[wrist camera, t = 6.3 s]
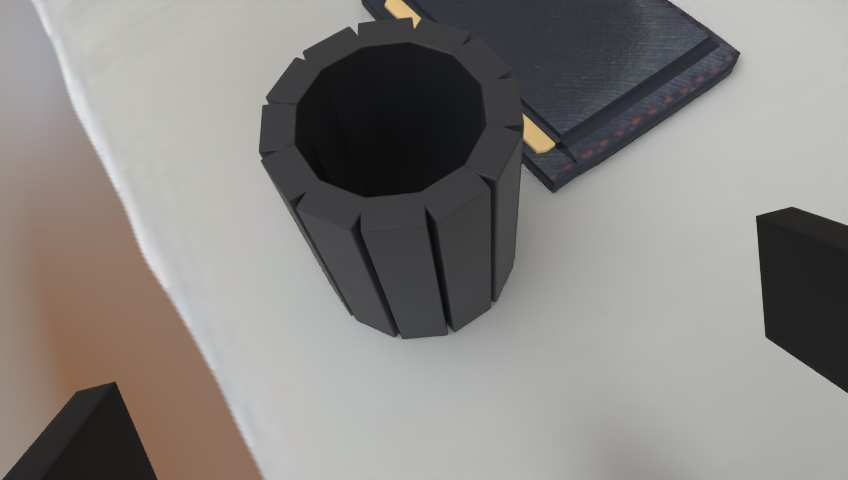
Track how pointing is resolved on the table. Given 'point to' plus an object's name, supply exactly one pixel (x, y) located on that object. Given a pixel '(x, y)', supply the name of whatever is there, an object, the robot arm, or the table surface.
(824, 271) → the robot arm
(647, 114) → the wallet
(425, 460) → the table surface
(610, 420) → the table surface
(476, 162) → the ribbed pencil cup
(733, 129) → the table surface
